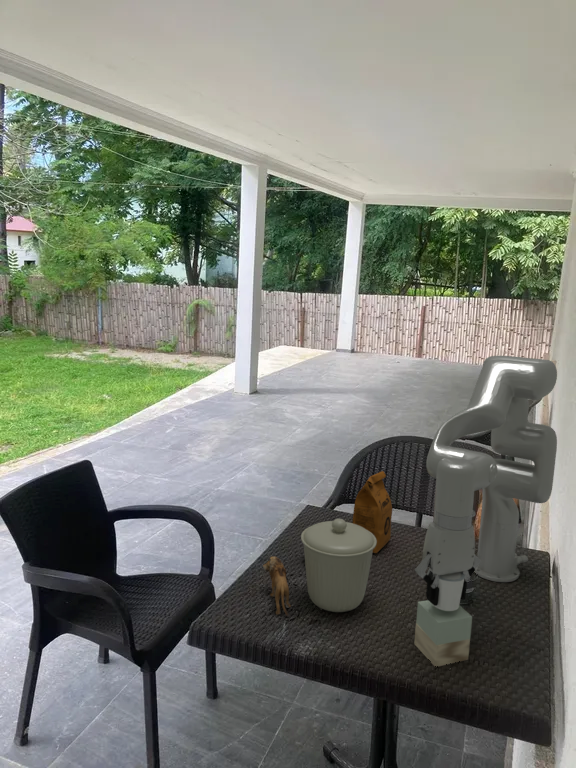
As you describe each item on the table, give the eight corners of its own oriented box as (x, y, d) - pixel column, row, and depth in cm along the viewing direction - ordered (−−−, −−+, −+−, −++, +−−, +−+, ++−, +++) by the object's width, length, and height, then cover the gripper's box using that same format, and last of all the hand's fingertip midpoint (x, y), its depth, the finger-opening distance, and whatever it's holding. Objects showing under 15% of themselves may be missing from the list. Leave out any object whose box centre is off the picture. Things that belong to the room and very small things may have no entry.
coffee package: (395, 543, 173) (400, 473, 169) (376, 558, 163) (381, 484, 160) (366, 534, 179) (370, 466, 175) (346, 548, 169) (349, 476, 165)
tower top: (448, 617, 127) (450, 596, 126) (470, 638, 119) (472, 616, 119) (416, 623, 124) (417, 601, 124) (436, 645, 117) (438, 622, 116)
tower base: (445, 638, 128) (447, 617, 127) (468, 660, 120) (470, 638, 119) (414, 644, 125) (415, 623, 124) (435, 667, 118) (437, 645, 117)
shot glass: (463, 615, 117) (466, 583, 116) (428, 610, 118) (431, 578, 117) (460, 597, 123) (463, 567, 122) (427, 592, 125) (430, 562, 124)
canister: (319, 574, 153) (322, 499, 150) (383, 594, 144) (388, 515, 141) (285, 606, 138) (287, 523, 134) (354, 631, 129) (359, 543, 125)
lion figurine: (260, 588, 146) (261, 555, 144) (280, 585, 148) (281, 552, 146) (278, 620, 132) (279, 584, 131) (300, 616, 134) (301, 581, 132)
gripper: (475, 506, 124) (468, 583, 127) (405, 516, 118) (400, 597, 121) (499, 520, 117) (491, 601, 120) (426, 531, 111) (420, 616, 114)
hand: (445, 598), depth 121 cm, fingers closed on shot glass, 6 cm apart
